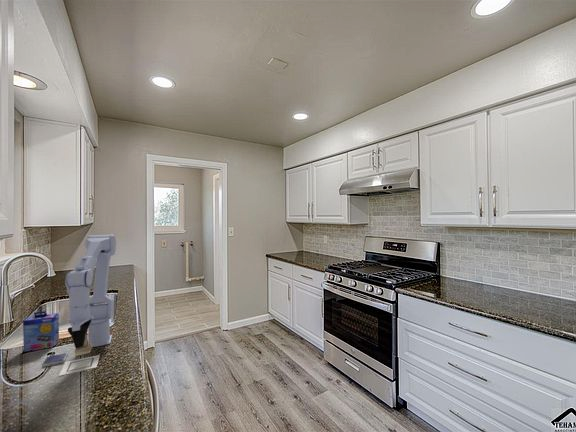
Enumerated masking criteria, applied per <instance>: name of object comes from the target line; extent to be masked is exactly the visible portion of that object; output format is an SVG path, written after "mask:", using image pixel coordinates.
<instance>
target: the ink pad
mask: <svg viewBox="0 0 576 432" xmlns="http://www.w3.org/2000/svg"><path fill="white" fill-rule="evenodd" d="M68 357H69V353H68V352H65V353H59V354H55V355H51V356H47V357H46V358H45V360H44V361H43V362H42V364H41V368H45V367H46V368H47V367H52V366H56V364H57V365H60V364H65V363H66V360H67V358H68Z"/></svg>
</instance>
